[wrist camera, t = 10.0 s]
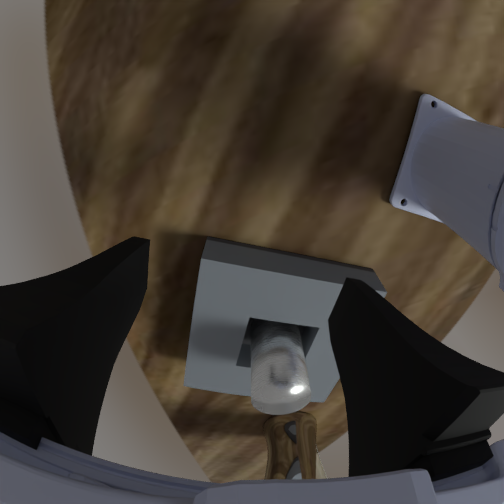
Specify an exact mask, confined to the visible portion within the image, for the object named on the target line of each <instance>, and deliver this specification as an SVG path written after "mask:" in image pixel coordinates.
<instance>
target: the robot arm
mask: <svg viewBox="0 0 504 504" xmlns="http://www.w3.org/2000/svg"><path fill="white" fill-rule="evenodd" d="M432 101H433V102H434V107H432V106H431V102H432ZM403 199H405V202H404V203H403V204H401V201H402V200H403ZM389 201H390V203H391V205H392V206H394V207H396V208H399V209H402V210H405V211H408V212H412V213H415V214H418V215H421V216H424V217H427V218H430V219H433V220H436V221H439V222H442V223H444V224H446V225H447V226H448V227H449V228H451V229H452V230H453V231H454V232H455V233H457V234H458V235H459V236H460V237H461V238H463V239H464V240H465V241H466V242H467V243H468V244H470V245H471V246H472V247H473V248H474V249H475V250H476V251H478V252H479V253H480V254H481V255H482V256H483V257H484V258H485V259H486V260H488V261H489V262H490V263H491V264H492V265H493V266H494V267H495V268H496V269H497V270H498V271H499V273H500V284H499V287H500V288H501V289H502V290H503V291H504V128H500V127H497V126H493V125H489V124H485V123H481V122H477V121H476V120H474V119H473V118H471V117H469V116H468V115H466V114H464V113H463V112H461V111H459V110H457V109H456V108H454V107H452V106H450V105H448V104H447V103H445V102H443V101H441V100H439V99H437V98H435V97H433V96H431V95H429V94H422V95H421V97H420V99H419V103H418V107H417V111H416V114H415V118H414V122H413V125H412V129H411V132H410V136H409V139H408V143H407V146H406V149H405V153H404V156H403V159H402V162H401V165H400V168H399V171H398V174H397V177H396V180H395V183H394V186H393V189H392V192H391V195H390V199H389ZM149 246H150V240H149V239H144V238H139V237H131V238H129V239H127V240H125V241H123V242H121V243H119V244H117V245H115V246H113V247H111V248H109V249H108V250H106V251H104V252H102V253H100V254H98V255H96V256H94V257H92V258H90V259H87V260H85V261H83V262H81V263H79V264H77V265H74V266H72V267H70V268H67V269H65V270H62V271H59V272H56V273H53V274H50V275H48V276H44V277H40V278H36V279H33V280H29V281H25V282H21V283H16V284H11V285H6V286H0V504H504V439H503V440H500V441H497V442H496V443H493V444H492V445H490V446H489V444H488V442H487V439H489V438H490V437H491V432H490V430H489V427H490V426H491V425H493V424H494V423H495V421H497V420H498V419H499V417H500V416H501V415H502V414H503V413H504V373H503V372H501V371H498V370H495V369H493V368H490V367H487V366H484V365H482V364H480V363H478V362H476V361H474V360H471V359H469V358H467V357H465V356H463V355H461V354H459V353H458V352H456V351H454V350H453V349H451V348H449V347H447V346H445V345H444V344H442V343H441V342H439V341H438V340H436V339H435V338H433V337H432V336H430V335H429V334H428V333H426V332H425V331H423V330H422V329H421V328H419V327H418V326H417V325H416V324H414V323H413V322H412V321H411V320H409V319H408V318H407V317H406V316H404V315H403V314H402V313H401V312H400V311H398V310H397V309H396V308H395V307H394V306H393V305H392V304H390V303H389V302H388V301H387V300H386V299H385V298H383V297H382V296H381V295H380V294H379V293H378V292H376V291H375V290H374V289H373V288H372V287H370V286H369V285H368V284H366V283H365V282H363V281H362V280H359V279H354V278H348V277H346V279H345V282H344V284H343V287H342V289H341V291H340V294H339V296H338V298H337V300H336V303H335V305H334V307H333V310H332V312H331V314H330V316H329V318H328V325H329V334H330V342H331V346H332V350H333V354H334V357H335V361H336V365H337V368H338V372H339V376H340V380H341V384H342V387H343V392H344V397H345V403H346V412H347V421H348V434H349V477H343V478H330V479H329V478H328V479H270V480H239V481H233V482H228V483H221V484H220V483H211V482H203V481H196V480H190V479H184V478H178V477H172V476H167V475H162V474H157V473H153V472H148V471H144V470H140V469H135V468H131V467H128V466H124V465H120V464H117V463H113V462H110V461H107V460H103V459H100V458H97V457H94V456H92V451H93V445H94V439H95V434H96V429H97V424H98V419H99V415H100V411H101V407H102V403H103V399H104V396H105V392H106V388H107V385H108V382H109V378H110V375H111V372H112V369H113V366H114V363H115V360H116V358H117V356H118V353H119V351H120V349H121V347H122V345H123V343H124V341H125V339H126V337H127V335H128V333H129V331H130V329H131V327H132V324H133V322H134V320H135V318H136V316H137V314H138V312H139V310H140V307H141V304H142V301H143V299H144V295H145V292H146V290H147V279H148V261H149Z"/></svg>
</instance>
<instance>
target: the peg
mask: <svg viewBox="0 0 504 504" xmlns="http://www.w3.org/2000/svg"><path fill="white" fill-rule="evenodd" d="M250 350H251V402H252V405H253V406H254V407H255V408H256V409H257V410H258V411H260V412H263V413H266V414H272V415H283V414H289V413H293V412H296V411H298V410H300V409H302V408H304V407H305V406H306V405H307V404H308V403H309V402H310V400H311V389H310V384H309V378H308V373H307V367H306V362H305V357H304V352H303V346H302V341H301V336H300V331H299V326H298V325H296V324H289V323H283V322H276V321H270V320H263V319H257V318H252V319H251V322H250Z"/></svg>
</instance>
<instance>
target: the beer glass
mask: <svg viewBox="0 0 504 504" xmlns="http://www.w3.org/2000/svg"><path fill="white" fill-rule="evenodd" d="M263 432H264V435H265V439H266V443H267V449H268V460H267V467H266V473H265V478H264V480H270V479H327V477H326V474H325V471H324V468H323V466H322V463H321V460H320V457H319V454H318V450H317V444H316V432H317V421H316V419H315V417H313V416H312V415H310V414H307V413H303V412H293V413H289V414H283V415H275V416H273V417H271V418H269V419H268V420H267V421H266V422H265V423H264V425H263Z"/></svg>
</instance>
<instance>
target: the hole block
mask: <svg viewBox="0 0 504 504" xmlns="http://www.w3.org/2000/svg"><path fill="white" fill-rule="evenodd" d="M346 277H348V278H354V279H359V280H362V281H363V282H365V283H366V284H368V285H369V286H370V287H372V288H373V289H374V290H375V291H376V292H378V293H379V294H380V295H381V296H382V297H383V298H384V297H385V295H386V293H387V291H386V290H385V288H384V286H383V285H382V283H381V282H380V280H379V278H378V277H377V275H376V273H375V272H374V270H373V269H370V268H365V267H360V266H355V265H350V264H345V263H340V262H335V261H330V260H325V259H320V258H315V257H310V256H305V255H300V254H295V253H290V252H285V251H280V250H275V249H270V248H265V247H260V246H255V245H250V244H244V243H239V242H234V241H229V240H224V239H219V238H214V237H208V236H207V240H206V243H205V247H204V250H203V254H202V258H201V263H200V270H199V276H198V282H197V289H196V296H195V302H194V309H193V316H192V323H191V331H190V338H189V346H188V354H187V362H186V370H185V378H184V386H187V387H192V388H198V389H203V390H209V391H216V392H222V393H229V394H236V395H244V396H251V350H250V322H251V319H252V318H257V319H263V320H270V321H276V322H283V323H289V324H296V325H298V326H299V331H300V336H301V341H302V346H303V352H304V357H305V362H306V367H307V373H308V378H309V384H310V389H311V400H310V402H324V401H325V400H326V398H327V397H328V395H329V394H330V392H331V391H332V389H333V387H334V386H335V384H336V383H337V381H338V379H339V378H340V376H339V372H338V368H337V365H336V361H335V357H334V354H333V350H332V346H331V342H330V334H329V325H328V318H329V316H330V314H331V312H332V310H333V307H334V305H335V303H336V300H337V298H338V296H339V294H340V291H341V289H342V287H343V284H344V282H345V279H346Z"/></svg>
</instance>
